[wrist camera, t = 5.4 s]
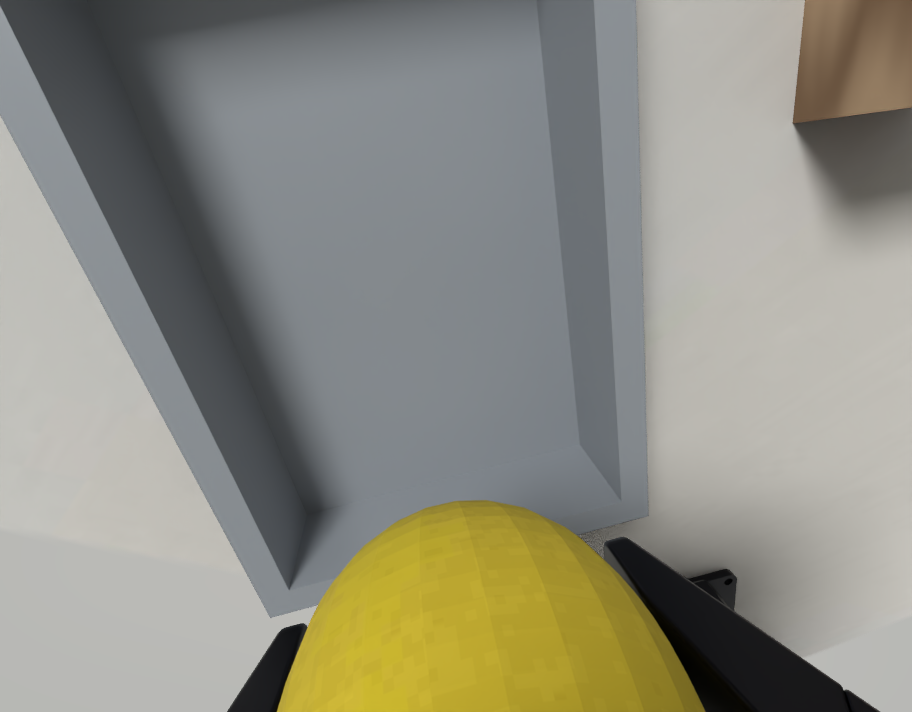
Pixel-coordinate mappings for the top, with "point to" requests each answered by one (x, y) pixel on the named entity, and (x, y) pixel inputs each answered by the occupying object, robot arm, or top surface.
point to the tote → (356, 251)
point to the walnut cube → (854, 58)
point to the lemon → (483, 624)
